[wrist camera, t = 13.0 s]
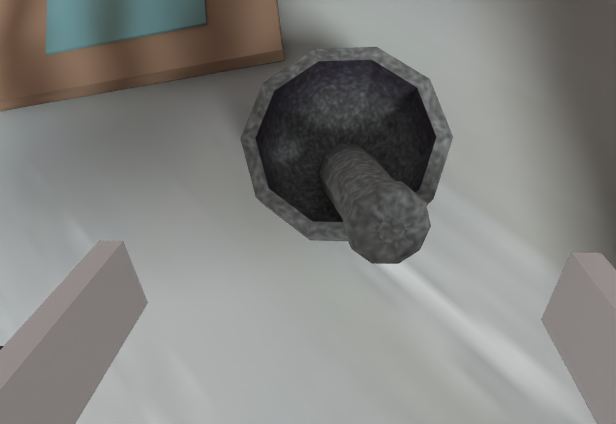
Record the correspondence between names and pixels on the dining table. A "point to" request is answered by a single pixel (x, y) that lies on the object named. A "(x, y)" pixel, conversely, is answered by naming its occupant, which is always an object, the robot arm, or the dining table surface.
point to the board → (126, 44)
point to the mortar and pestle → (349, 150)
